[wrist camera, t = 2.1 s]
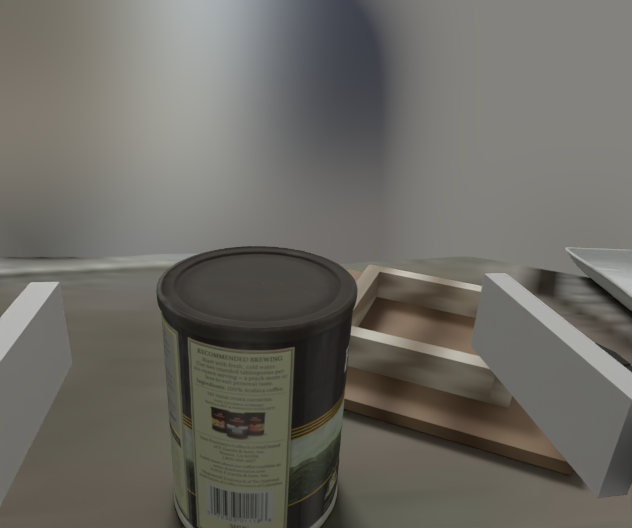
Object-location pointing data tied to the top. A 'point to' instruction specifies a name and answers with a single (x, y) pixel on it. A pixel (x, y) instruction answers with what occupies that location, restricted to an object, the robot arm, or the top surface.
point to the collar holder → (433, 367)
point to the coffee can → (256, 384)
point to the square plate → (607, 270)
